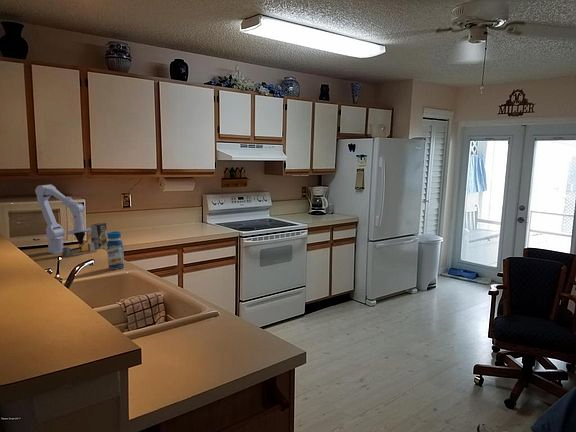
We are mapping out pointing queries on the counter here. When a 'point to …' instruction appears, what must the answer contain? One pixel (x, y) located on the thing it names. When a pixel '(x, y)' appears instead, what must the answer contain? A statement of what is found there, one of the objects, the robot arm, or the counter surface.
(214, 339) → the counter surface
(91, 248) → the cord board
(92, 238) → the coffee box
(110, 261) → the blue pill bottle
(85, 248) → the marker sleeve
